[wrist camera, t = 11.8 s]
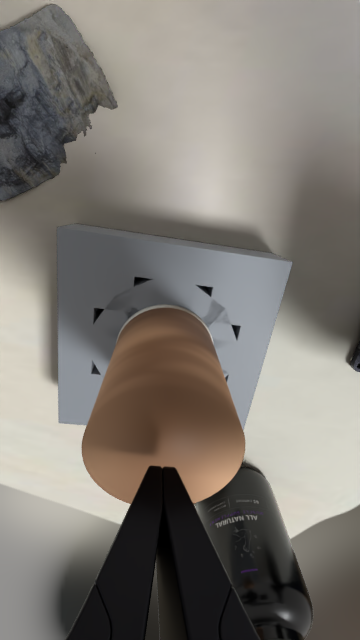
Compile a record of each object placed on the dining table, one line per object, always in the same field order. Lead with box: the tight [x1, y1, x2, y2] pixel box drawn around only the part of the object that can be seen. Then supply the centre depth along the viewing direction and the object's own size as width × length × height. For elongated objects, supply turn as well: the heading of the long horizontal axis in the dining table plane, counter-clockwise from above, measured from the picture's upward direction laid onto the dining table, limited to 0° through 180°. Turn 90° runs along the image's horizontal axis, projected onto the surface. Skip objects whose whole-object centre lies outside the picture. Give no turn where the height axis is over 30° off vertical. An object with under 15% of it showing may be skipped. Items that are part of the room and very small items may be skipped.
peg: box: [82, 304, 245, 504], centre depth 14 cm, size 6×6×10 cm
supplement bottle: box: [196, 467, 313, 640], centre depth 20 cm, size 7×7×12 cm
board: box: [57, 224, 293, 430], centre depth 18 cm, size 12×12×3 cm
